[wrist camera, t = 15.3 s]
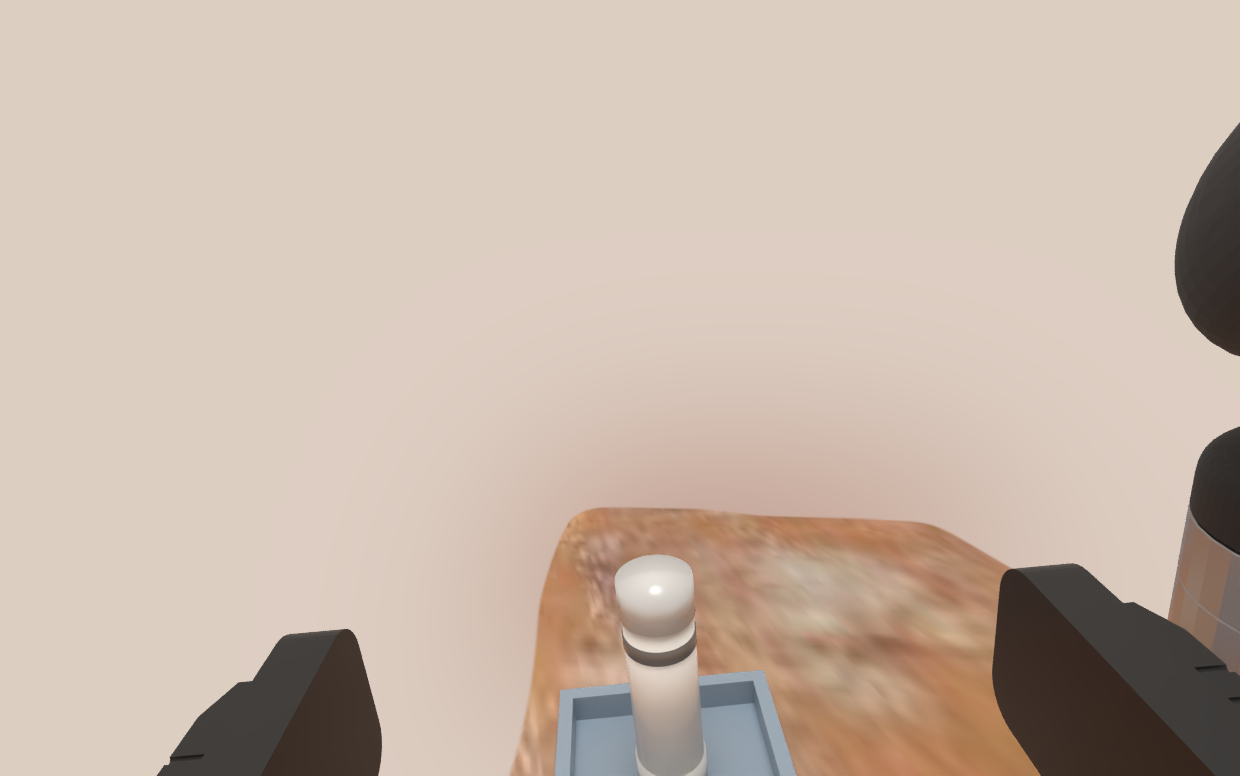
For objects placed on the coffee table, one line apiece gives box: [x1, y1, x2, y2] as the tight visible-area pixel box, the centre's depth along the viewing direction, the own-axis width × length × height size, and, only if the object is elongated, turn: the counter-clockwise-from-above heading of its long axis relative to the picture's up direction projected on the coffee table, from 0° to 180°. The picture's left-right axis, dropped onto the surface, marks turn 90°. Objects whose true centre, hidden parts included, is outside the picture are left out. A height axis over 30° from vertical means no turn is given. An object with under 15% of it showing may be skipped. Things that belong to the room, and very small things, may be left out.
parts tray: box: [555, 670, 796, 776], centre depth 39 cm, size 12×11×2 cm
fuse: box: [615, 555, 708, 776], centre depth 37 cm, size 4×4×13 cm
